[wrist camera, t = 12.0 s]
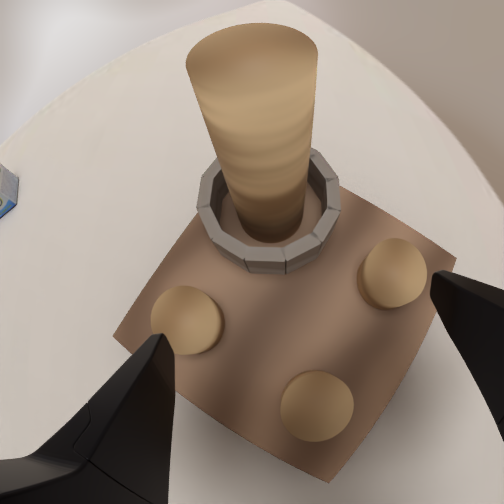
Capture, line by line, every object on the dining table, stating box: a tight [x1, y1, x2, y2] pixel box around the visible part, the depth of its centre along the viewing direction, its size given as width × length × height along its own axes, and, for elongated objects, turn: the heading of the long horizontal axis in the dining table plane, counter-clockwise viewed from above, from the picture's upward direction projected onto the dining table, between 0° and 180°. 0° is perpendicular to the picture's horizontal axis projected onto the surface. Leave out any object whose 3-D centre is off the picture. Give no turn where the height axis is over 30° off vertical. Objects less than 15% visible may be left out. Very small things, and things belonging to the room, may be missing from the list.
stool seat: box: [113, 148, 456, 483], centre depth 18 cm, size 18×18×4 cm
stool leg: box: [186, 23, 318, 243], centre depth 14 cm, size 4×4×13 cm
